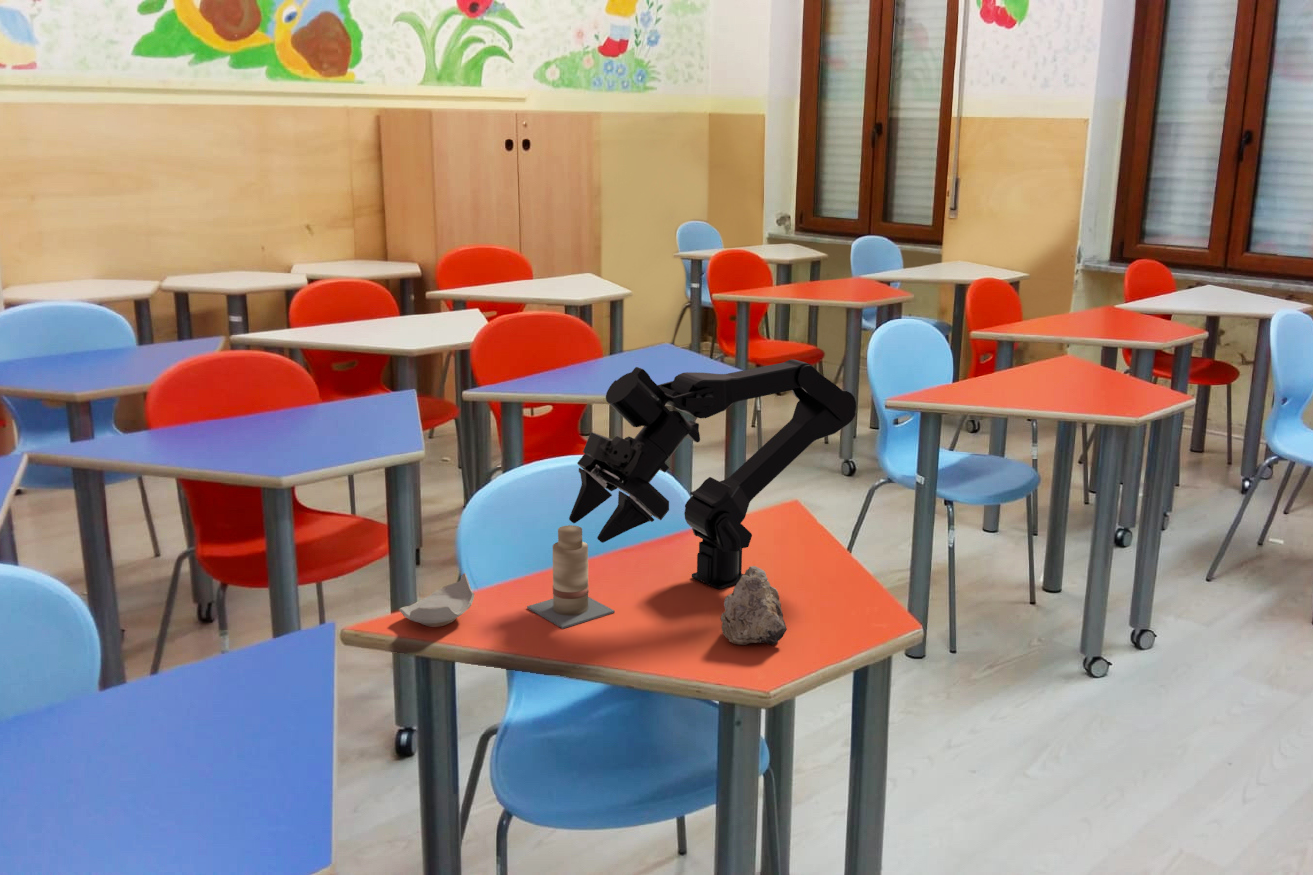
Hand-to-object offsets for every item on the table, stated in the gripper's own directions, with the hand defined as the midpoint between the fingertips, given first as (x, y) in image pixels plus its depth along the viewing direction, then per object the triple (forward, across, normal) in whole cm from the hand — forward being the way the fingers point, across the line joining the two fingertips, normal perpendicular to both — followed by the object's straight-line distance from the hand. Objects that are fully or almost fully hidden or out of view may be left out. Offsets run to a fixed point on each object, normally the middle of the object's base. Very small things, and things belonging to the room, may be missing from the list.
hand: (585, 530), depth 158 cm
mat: (+10, 0, +6) cm, 12 cm away
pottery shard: (+23, -5, -6) cm, 24 cm away
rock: (-2, +20, +19) cm, 28 cm away
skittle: (+10, 0, +6) cm, 12 cm away
